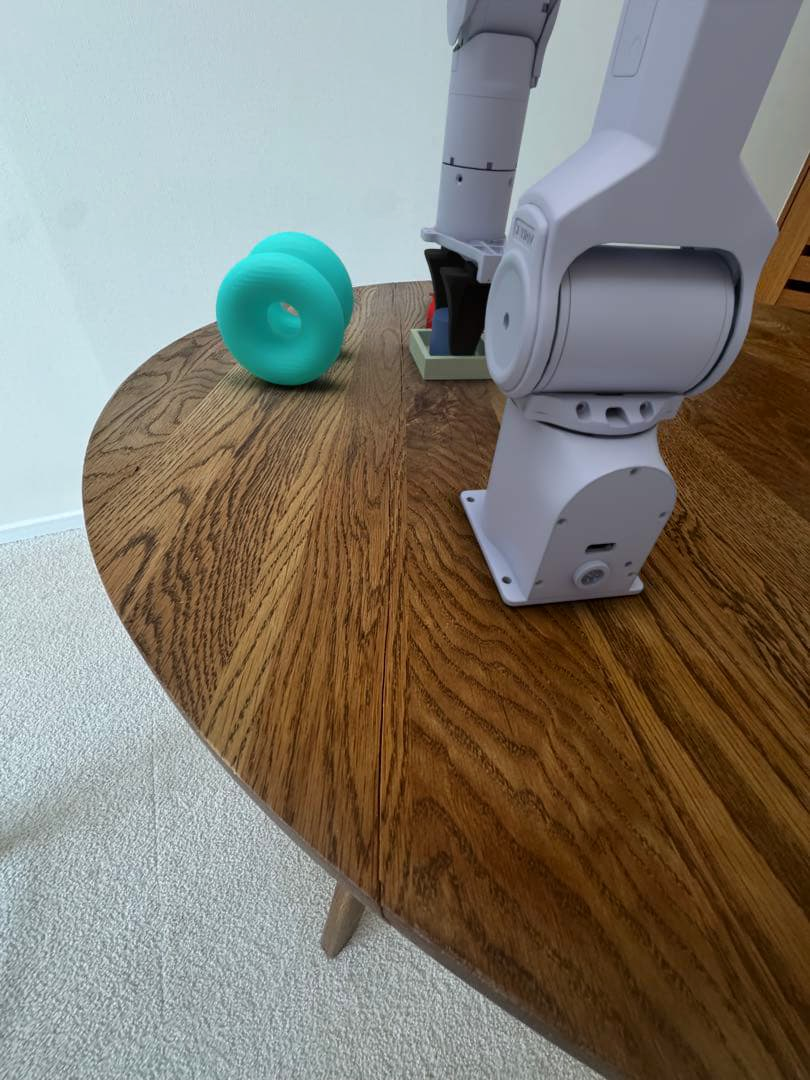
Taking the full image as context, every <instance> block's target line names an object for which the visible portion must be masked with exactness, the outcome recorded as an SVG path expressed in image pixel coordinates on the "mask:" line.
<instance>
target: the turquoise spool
mask: <svg viewBox="0 0 810 1080" xmlns="http://www.w3.org/2000/svg"><path fill="white" fill-rule="evenodd" d="M354 296H355V294H354V287H353V284H352V280H351V277H350V274H349V272H348V270H347V268H346V266H345V264H344V263H343V262H342V259H340V257H339V256H338V255H337V253H336V252H335V251H334V250H333V249H332V248H331V247H329V245H327V244H326V243H325V242H323V241H322V240H320V239H319V238H317V237H314V236H312V235H310V234H307V233H304V232H299V231H281V232H275V233H273V234H270V235H268V236H266V237H265V238H263V239H261V240H260V241H259V242H258V243H256V245H255V246H254V247H252V249H251V250H250V251H249V253H248V255H247V256H246V257H244V258H242V259H240V260H239V261H238V262H236V263H235V264H234V265H233V266H232V267H231V268H230V269H229V270H228V271H227V273H226V274H225V276H224V277H223V278H222V281H221V283H220V285H219V287H218V290H217V295H216V300H215V318H216V325H217V328H218V332H219V335H220V336H221V339H222V341H223V343H224V345H225V347H226V348H227V350H228V351H229V353H230V354H231V356H232V357H233V358H234V359H235V360H236V362H238V363H239V364H240V365H241V367H243V368H244V369H245V370H246V371H247V372H249V373H251V374H252V375H253V376H255V377H257V378H259V379H261V380H263V381H266V382H268V383H272V384H275V385H279V386H280V385H281V386H299V385H305V384H308V383H310V382H313V381H315V380H317V379H319V378H320V377H322V376H323V375H324V374H326V373H327V372H328V371H329V370H330V369H331V368H332V367H333V365H334V364H335V362H336V361H337V359H338V357H339V355H340V353H341V351H342V347H343V344H344V338H345V333H346V331H347V329H348V327H349V325H350V324H351V323H350V322H351V320H352V317H353V313H354V306H355V297H354ZM283 303H284V304H286V305H289V306H290V307H291V308H293V310H294V311H295V312H296V313H297V314H295V313H292V312H291V311H289V310H288V309H287V308H286V307H285V306H284V304H283Z"/></svg>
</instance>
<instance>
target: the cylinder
mask: <svg viewBox="0 0 810 1080" xmlns="http://www.w3.org/2000/svg"><path fill="white" fill-rule="evenodd" d="M448 324H449V315H448V308H440V309H437V310H435V311H434V313H433V321H432V331H431V340H430V350H429V354H430V356H452V355H451V354H450V350H449V342H448ZM476 348H477V347H476ZM475 354H476V350H475V352H474V354H473V355H472V356H475Z"/></svg>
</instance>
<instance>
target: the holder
mask: <svg viewBox="0 0 810 1080" xmlns="http://www.w3.org/2000/svg"><path fill="white" fill-rule="evenodd" d="M431 331H432V329H426V328H410V329H409V339H408V340H409V341H408V350H409V352H410V354H411V357H412V359H413V361H414V362H415V364H416V367H417V369H418V371H419V374H420V376H421V377H422V379H423V381H430V380H431V381H434V380H435V381H438V380H443V381H444V380H448V381H449V380H493V379H492V378H491V376H490V373H489V370H488V367H487V362H486V356H485V341H484V332H483V333H482V335H481V338H480V340H479V343H478V345H477V348H476V354H475V356H430V354H429V350H430V340H431Z"/></svg>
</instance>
